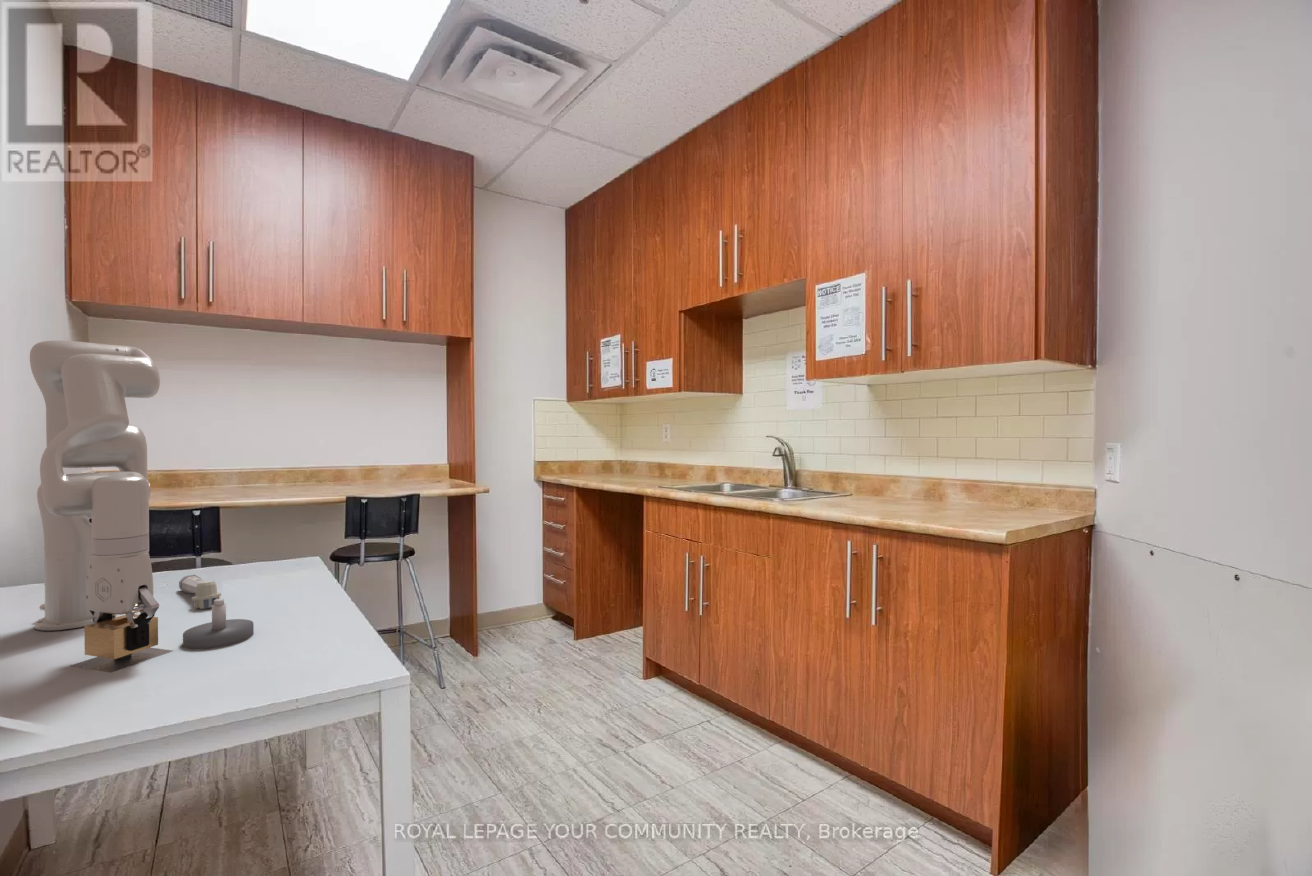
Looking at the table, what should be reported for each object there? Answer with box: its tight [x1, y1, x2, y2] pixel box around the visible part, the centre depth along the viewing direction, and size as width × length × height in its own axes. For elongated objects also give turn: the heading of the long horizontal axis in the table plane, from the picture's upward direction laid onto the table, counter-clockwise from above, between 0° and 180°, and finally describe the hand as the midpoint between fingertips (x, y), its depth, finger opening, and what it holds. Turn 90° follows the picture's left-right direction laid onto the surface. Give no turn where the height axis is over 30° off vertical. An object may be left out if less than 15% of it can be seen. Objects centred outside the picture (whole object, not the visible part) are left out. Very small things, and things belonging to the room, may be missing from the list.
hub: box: [182, 598, 255, 650], centre depth 115 cm, size 11×11×8 cm
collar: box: [83, 613, 159, 659], centre depth 105 cm, size 7×7×5 cm
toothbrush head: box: [178, 574, 222, 610], centre depth 145 cm, size 5×7×25 cm
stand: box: [69, 647, 174, 673], centre depth 105 cm, size 10×10×6 cm
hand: (122, 644), depth 105 cm, fingers closed on collar, 7 cm apart
